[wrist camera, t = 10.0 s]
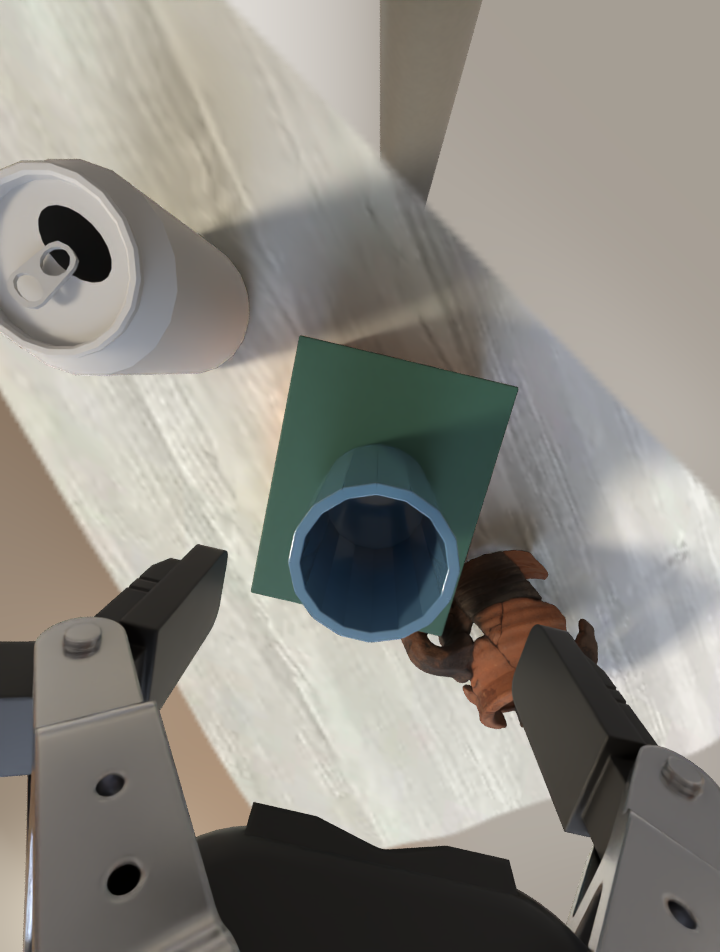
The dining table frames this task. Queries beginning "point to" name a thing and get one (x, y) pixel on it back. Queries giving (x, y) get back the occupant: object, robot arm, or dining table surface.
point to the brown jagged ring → (492, 631)
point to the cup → (374, 548)
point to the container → (380, 441)
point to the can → (110, 276)
